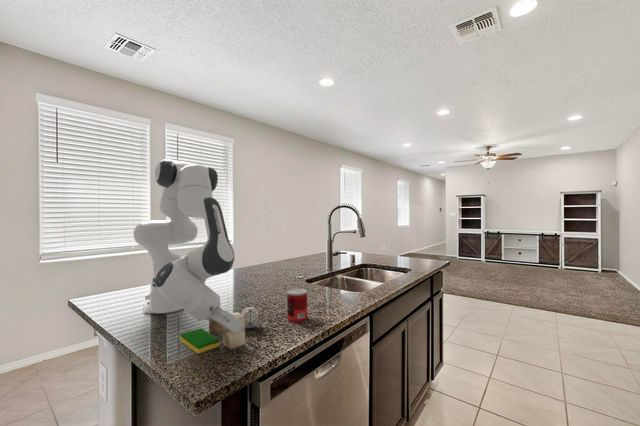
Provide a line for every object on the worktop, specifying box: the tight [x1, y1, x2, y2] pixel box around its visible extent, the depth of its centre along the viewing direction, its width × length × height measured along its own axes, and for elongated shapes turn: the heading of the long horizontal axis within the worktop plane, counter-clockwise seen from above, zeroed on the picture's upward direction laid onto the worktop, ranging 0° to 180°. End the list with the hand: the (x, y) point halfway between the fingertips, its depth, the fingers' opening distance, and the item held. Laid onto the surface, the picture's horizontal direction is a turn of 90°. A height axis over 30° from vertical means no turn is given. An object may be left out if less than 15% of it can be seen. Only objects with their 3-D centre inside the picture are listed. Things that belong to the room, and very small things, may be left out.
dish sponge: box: [179, 328, 221, 355], centre depth 94 cm, size 7×14×2 cm, turn 46°
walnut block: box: [208, 319, 223, 336], centre depth 103 cm, size 5×5×6 cm
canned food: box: [286, 288, 308, 324], centre depth 114 cm, size 8×8×11 cm
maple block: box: [222, 312, 246, 350], centre depth 93 cm, size 5×5×9 cm
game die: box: [240, 304, 263, 330], centre depth 105 cm, size 9×8×10 cm
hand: (235, 328), depth 93 cm, fingers closed on maple block, 5 cm apart
